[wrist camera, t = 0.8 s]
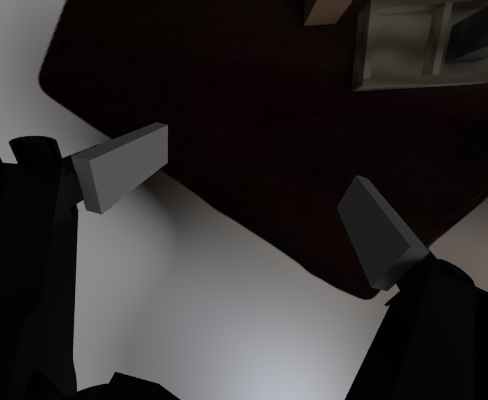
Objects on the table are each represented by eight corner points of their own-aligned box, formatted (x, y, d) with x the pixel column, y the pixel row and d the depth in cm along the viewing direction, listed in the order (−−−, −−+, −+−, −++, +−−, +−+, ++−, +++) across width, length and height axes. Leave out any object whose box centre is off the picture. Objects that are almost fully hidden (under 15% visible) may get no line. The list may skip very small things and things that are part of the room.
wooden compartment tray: (358, 14, 32) (445, -85, 18) (501, 4, 31) (707, -107, 17) (351, 91, 35) (421, 58, 21) (481, 83, 34) (642, 44, 20)
